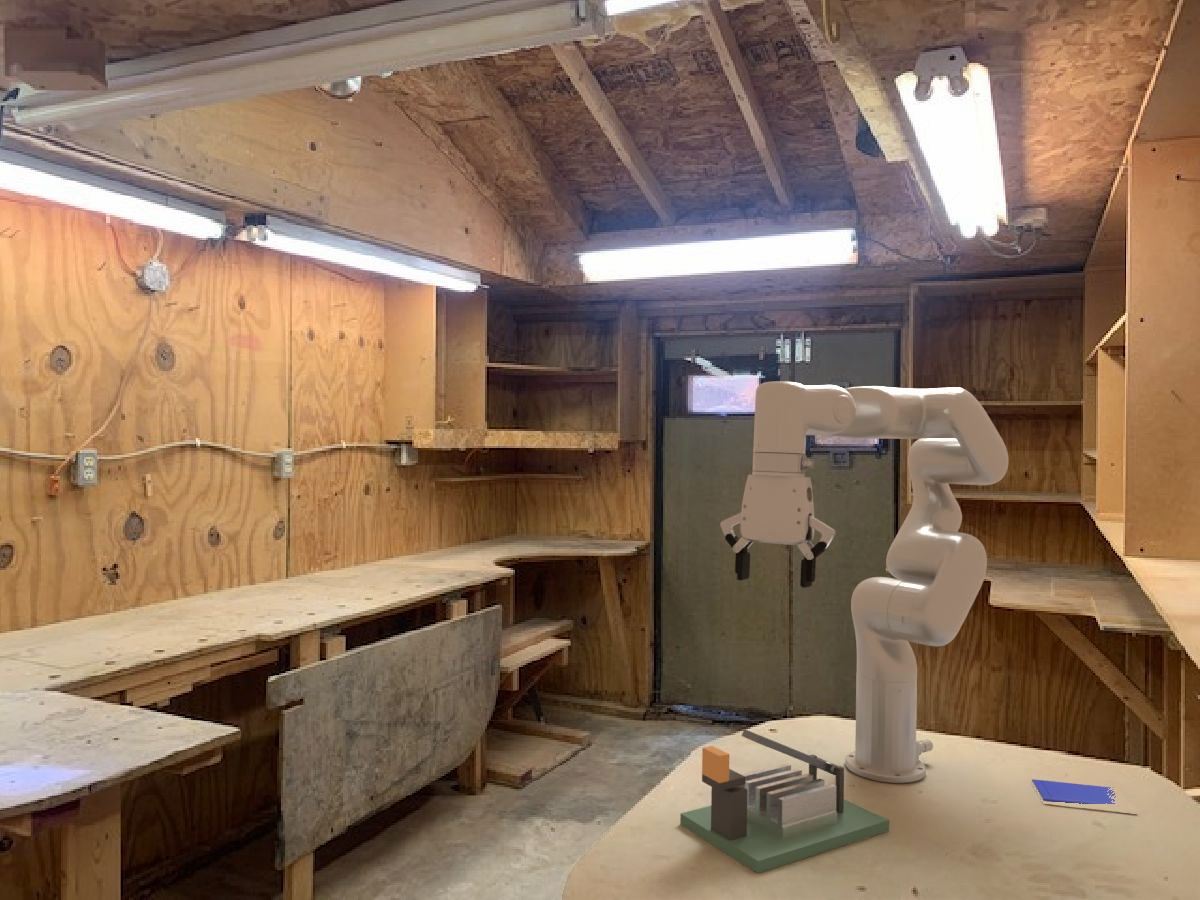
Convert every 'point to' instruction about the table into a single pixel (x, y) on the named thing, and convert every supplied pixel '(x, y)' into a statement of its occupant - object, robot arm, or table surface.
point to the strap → (791, 752)
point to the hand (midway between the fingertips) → (773, 582)
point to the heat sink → (789, 801)
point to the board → (767, 850)
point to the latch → (719, 770)
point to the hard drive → (1073, 792)
